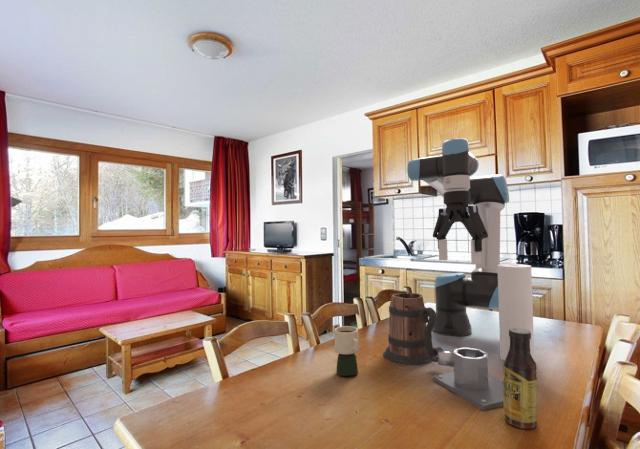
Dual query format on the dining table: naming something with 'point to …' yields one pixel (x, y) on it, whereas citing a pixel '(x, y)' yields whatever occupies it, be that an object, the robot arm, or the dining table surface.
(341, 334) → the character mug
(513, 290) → the cylinder container
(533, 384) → the sauce bottle
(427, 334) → the tankard
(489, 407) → the grey peg base plate
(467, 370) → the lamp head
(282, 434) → the dining table surface
